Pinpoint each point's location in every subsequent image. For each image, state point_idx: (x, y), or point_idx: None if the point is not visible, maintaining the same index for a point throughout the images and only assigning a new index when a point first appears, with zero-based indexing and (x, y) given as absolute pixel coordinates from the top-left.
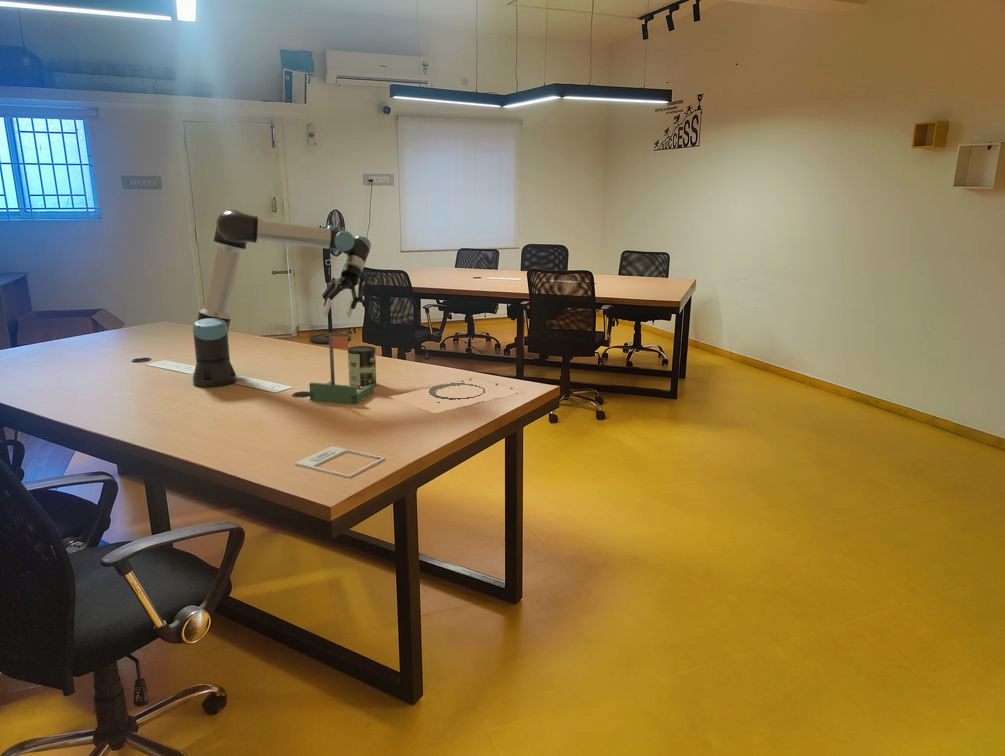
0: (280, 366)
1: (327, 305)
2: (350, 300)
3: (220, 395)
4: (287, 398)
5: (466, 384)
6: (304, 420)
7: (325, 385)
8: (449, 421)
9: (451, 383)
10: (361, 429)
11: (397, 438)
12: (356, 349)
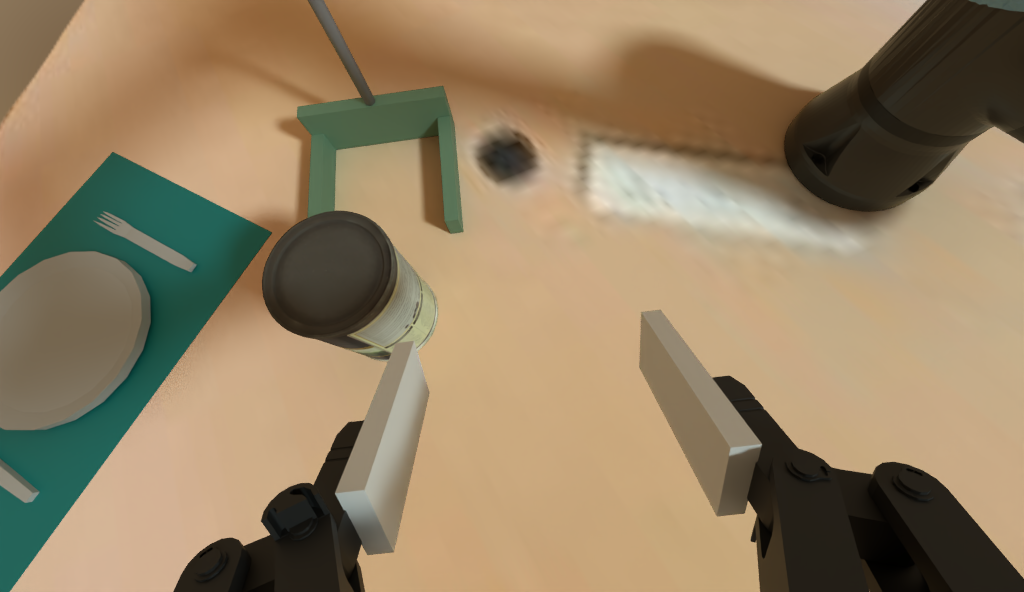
0: (869, 437)
1: (673, 371)
2: (370, 470)
3: (704, 68)
4: (521, 114)
5: (25, 425)
6: (381, 15)
7: (391, 94)
8: (73, 122)
9: (77, 410)
10: (244, 20)
11: (162, 10)
12: (345, 251)
